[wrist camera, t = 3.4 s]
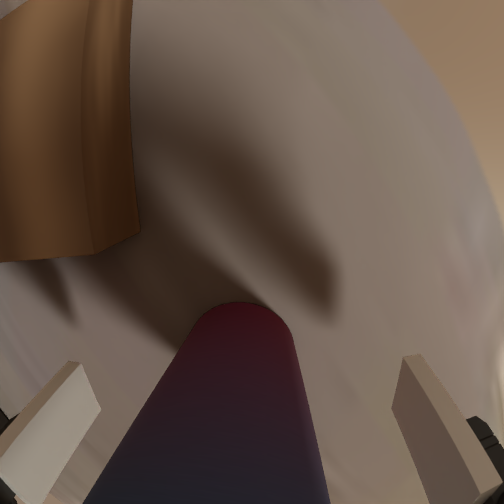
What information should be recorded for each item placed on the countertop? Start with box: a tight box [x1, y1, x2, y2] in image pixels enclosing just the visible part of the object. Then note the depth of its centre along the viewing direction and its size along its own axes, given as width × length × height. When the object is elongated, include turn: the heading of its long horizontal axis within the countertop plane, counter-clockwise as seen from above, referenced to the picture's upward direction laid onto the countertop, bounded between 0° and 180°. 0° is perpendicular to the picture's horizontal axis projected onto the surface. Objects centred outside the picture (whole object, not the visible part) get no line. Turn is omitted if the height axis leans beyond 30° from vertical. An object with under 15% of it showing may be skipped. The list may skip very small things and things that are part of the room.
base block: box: [0, 0, 141, 262], centre depth 10 cm, size 12×12×4 cm
